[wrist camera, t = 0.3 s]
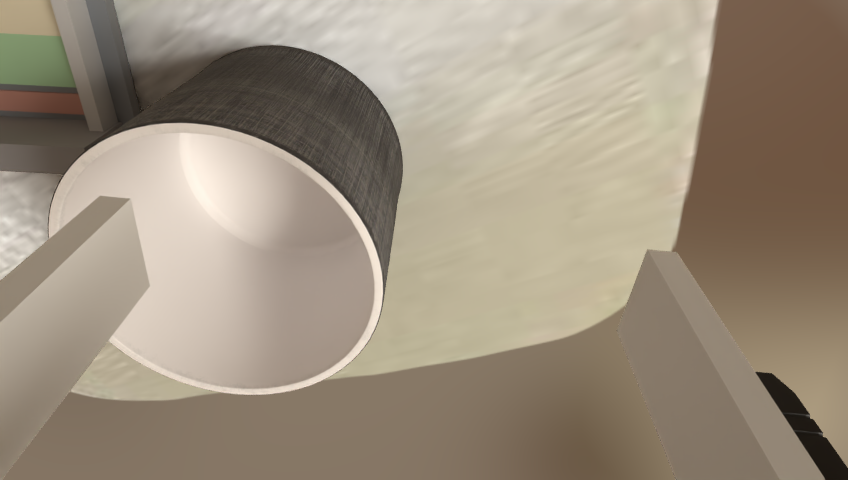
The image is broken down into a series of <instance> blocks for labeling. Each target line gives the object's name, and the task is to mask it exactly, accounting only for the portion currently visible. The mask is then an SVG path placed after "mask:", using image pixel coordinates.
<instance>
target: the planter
mask: <svg viewBox="0 0 848 480" xmlns="http://www.w3.org/2000/svg"><path fill="white" fill-rule="evenodd" d="M402 174H403V162H402V152H401V147H400V143H399V139H398V136H397V133H396V130H395V127H394V125H393V123H392V121H391V119H390V117H389V115H388V113H387V112H386V110H385V108H384V107H383V105H382V104H381V102H380V101H379V100H378V98H377V97H376V96H375V95H374V94H373V92H372V91H371V90H370V89H369V88H368V87H367V86H366V85H365V84H364V83H363V82H362V81H361V80H359V79H358V78H357V77H356V76H355V75H353V74H352V73H351V72H349V71H348V70H346V69H345V68H343V67H342V66H340V65H339V64H337V63H335V62H333V61H331V60H329V59H327V58H325V57H322V56H320V55H317V54H315V53H312V52H309V51H305V50H301V49H296V48H291V47H283V46H260V47H253V48H248V49H243V50H240V51H237V52H234V53H231V54H229V55H226V56H224V57H222V58H220V59H219V60H217V61H215V62H214V63H212V64H211V65H209V66H208V67H206V68H205V69H204V70H203V71H202V72H200V73H199V74H198V75H197V76H195V77H194V78H192V79H191V80H189V81H188V82H186V83H185V84H183V85H182V86H180V87H179V88H177V89H176V90H174V91H173V92H171V93H170V94H168V95H167V96H165V97H164V98H162V99H161V100H159V101H158V102H156V103H155V104H153V105H152V106H150V107H149V108H147V109H146V110H144V111H143V112H141V113H140V114H138V115H137V116H135V117H134V118H132V119H131V120H129V121H128V122H126V123H125V124H124V125H122V126H121V127H119V128H118V129H116V130H115V131H113V132H112V133H110V134H109V135H107V136H106V137H104V138H103V139H101V140H100V141H98V142H97V143H95V144H94V145H92V146H91V147H89V148H88V149H87V150H86V151H84V152H83V153H82V154H81V155H80V156H79V157H78V158H77V159H76V160H75V161H74V162H73V163H72V164H71V165H70V166H69V168H68V169H67V170H66V172H65V173H64V175H63V176H62V178H61V180H60V181H59V183H58V185H57V188H56V190H55V192H54V195H53V198H52V201H51V205H50V211H49V218H48V238H49V239H50V238H51V237H52V236H53V235H54V234H56V233H57V232H58V231H59V230H60V229H61V228H63V227H64V226H65V225H66V224H67V223H68V222H70V221H71V220H72V219H73V218H74V217H76V216H77V215H78V214H79V213H80V212H81V211H83V210H84V209H85V208H86V207H87V206H88V205H90V204H91V203H92V202H93V201H94V200H95V199H97V198H98V197H99V196H109V197H119V198H129V199H131V202H132V207H133V211H134V216H135V220H136V225H137V229H138V234H139V238H140V243H141V247H142V252H143V256H144V261H145V265H146V270H147V274H148V279H149V283H150V287H149V288H148V290H147V291H146V292H145V293H144V295H143V296H142V297H141V299H140V300H139V301H138V303H137V304H136V305H135V307H134V308H133V309H132V310H131V312H130V313H129V314H128V316H127V317H126V318H125V320H124V321H123V322H122V324H121V325H120V326H119V327H118V329H117V330H116V331H115V333H114V334H113V335H112V337H111V338H110V339H109V340H108V341H109V342H110V343H111V344H113V345H114V346H115V347H116V348H118V349H119V350H120V351H122V352H123V353H125V354H126V355H127V356H129V357H131V358H132V359H134V360H135V361H137V362H139V363H140V364H142V365H144V366H146V367H147V368H149V369H151V370H153V371H155V372H157V373H159V374H162V375H164V376H166V377H169V378H171V379H174V380H176V381H179V382H182V383H185V384H188V385H191V386H194V387H198V388H202V389H206V390H211V391H216V392H223V393H230V394H242V395H265V394H276V393H283V392H288V391H293V390H297V389H301V388H304V387H307V386H310V385H313V384H315V383H318V382H320V381H322V380H324V379H326V378H328V377H330V376H332V375H334V374H335V373H337V372H338V371H340V370H341V369H343V368H344V367H345V366H347V365H348V364H349V363H350V362H351V361H353V360H354V359H355V358H356V357H357V356H358V354H359V353H360V352H361V351H362V350H363V349H364V347H365V346H366V345H367V343H368V342H369V340H370V339H371V337H372V335H373V333H374V331H375V329H376V326H377V324H378V322H379V318H380V315H381V311H382V306H383V300H384V294H385V287H386V280H387V273H388V266H389V260H390V253H391V246H392V239H393V232H394V225H395V218H396V210H397V203H398V197H399V193H400V188H401V183H402Z"/></svg>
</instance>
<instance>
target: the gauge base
mask: <svg viewBox="0 0 848 480" xmlns="http://www.w3.org/2000/svg"><path fill="white" fill-rule="evenodd" d="M138 114H140V109H139V105H138V100H137V96H136V92H135V88H134V84H133V80H132V76H131V72H130V68H129V63H128V59H127V55H126V51H125V47H124V43H123V39H122V35H121V31H120V26H119V22H118V18H117V14H116V10H115V6H114V2H113V0H0V171H15V172H34V173H53V174H64V173H65V172H66V170H67V169H68V168H69V166H70V165H71V164H72V163H73V162H74V161H75V160H76V159H77V158H78V157H79V156H80V155H81V154H82V153H83V152H84V151H86V150H87V149H88V148H89V147H91V146H92V145H94V144H95V143H97V142H98V141H100V140H101V139H103V138H104V137H106V136H107V135H109V134H110V133H112V132H113V131H115V130H116V129H118V128H119V127H121V126H122V125H124V124H125V123H126V122H128V121H129V120H131V119H132V118H134V117H135V116H137V115H138Z"/></svg>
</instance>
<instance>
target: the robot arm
mask: <svg viewBox="0 0 848 480" xmlns="http://www.w3.org/2000/svg"><path fill="white" fill-rule="evenodd" d="M149 287H150V283H149V279H148V274H147V270H146V265H145V261H144V256H143V252H142V247H141V243H140V238H139V234H138V229H137V225H136V220H135V216H134V211H133V207H132V202H131V199H129V198H119V197H109V196H99V197H98V198H97V199H95V200H94V201H93V202H92V203H91V204H90V205H88V206H87V207H86V208H85V209H84V210H83V211H81V212H80V213H79V214H78V215H77V216H76V217H74V218H73V219H72V220H71V221H70V222H68V223H67V224H66V225H65V226H64V227H63V228H61V229H60V230H59V231H58V232H57V233H56V234H54V235H53V236H52V237H51V238H50V239H49V240H47V241H46V242H45V243H44V244H43V245H42V246H40V247H39V248H38V249H37V250H36V251H35V252H33V253H32V254H31V255H30V256H29V257H28V258H26V259H25V260H24V261H23V262H22V263H21V264H19V265H18V266H17V267H16V268H15V269H14V270H12V271H11V272H10V273H9V274H8V275H7V276H5V277H4V278H3V279H2V280H1V281H0V480H2V479H3V478H4V476H5V475H6V474H7V472H8V471H9V470H10V468H11V467H12V466H13V465H14V463H15V462H16V461H17V459H18V458H19V457H20V455H21V454H22V453H23V451H24V450H25V449H26V448H27V446H28V445H29V444H30V442H31V441H32V439H33V438H34V437H35V436H36V435H37V433H38V432H39V431H40V429H41V428H42V427H43V425H44V424H45V423H46V421H47V420H48V419H49V418H50V416H51V415H52V414H53V412H54V411H55V410H56V408H57V407H58V406H59V404H60V403H61V402H62V401H63V399H64V398H65V397H66V395H67V394H68V393H69V391H70V390H71V389H72V388H73V386H74V385H75V384H76V382H77V381H78V380H79V378H80V377H81V376H82V374H83V373H84V372H85V371H86V369H87V368H88V367H89V365H90V364H91V363H92V361H93V360H94V359H95V357H96V356H97V355H98V354H99V352H100V351H101V350H102V348H103V347H104V346H105V344H106V343H107V342H108V340H109V339H110V338H111V337H112V335H113V334H114V333H115V331H116V330H117V329H118V327H119V326H120V325H121V324H122V322H123V321H124V320H125V318H126V317H127V316H128V314H129V313H130V312H131V310H132V309H133V308H134V307H135V305H136V304H137V303H138V301H139V300H140V299H141V297H142V296H143V295H144V293H145V292H146V291H147V290H148V288H149ZM617 332H618V335H619V337H620V340H621V342H622V345H623V347H624V350H625V353H626V355H627V358H628V360H629V363H630V365H631V368H632V370H633V373H634V375H635V378H636V380H637V383H638V385H639V388H640V390H641V393H642V395H643V398H644V400H645V403H646V406H647V408H648V410H649V413H650V416H651V418H652V421H653V423H654V426H655V428H656V431H657V433H658V436H659V438H660V441H661V443H662V446H663V448H664V451H665V454H666V456H667V458H668V461H669V464H670V466H671V469H672V471H673V474H674V476H675V479H676V480H848V468H847V466H846V465H845V464H844V463H843V461H842V459H841V458H840V456H839V455H838V454H837V452H836V451H835V449H834V448H833V447H832V445H831V444H830V442H829V441H828V440H827V438H825V437H823V435H822V434H823V432H822V431H821V430H820V428H819V427H818V425H817V424H816V422H815V421H814V420H813V419H810V414H809V413H808V411H807V410H806V408H805V407H804V406H803V404H802V403H801V401H800V400H799V398H798V397H797V396H796V394H795V393H794V392H793V391H792V390H791V389H789V388H788V387H787V386H786V385H785V384H784V383H782V382H781V381H780V380H779V379H778V378H776V377H775V376H774V375H773V374H772V373H762V372H755V371H754V370H753V368H752V367H751V365H750V363H749V362H748V360H747V359H746V357H745V356H744V354H743V353H742V351H741V350H740V348H739V347H738V345H737V344H736V342H735V341H734V339H733V338H732V336H731V334H730V333H729V331H728V330H727V329H726V327H725V325H724V324H723V322H722V321H721V319H720V318H719V316H718V315H717V313H716V311H715V310H714V309H713V307H712V306H711V304H710V302H709V301H708V299H707V298H706V296H705V295H704V293H703V292H702V290H701V289H700V287H699V286H698V284H697V282H696V281H695V279H694V278H693V276H692V275H691V273H690V272H689V270H688V269H687V267H686V266H685V264H684V263H683V261H682V260H681V258H680V257H679V255H678V254H677V252H668V251H658V250H648V249H647V252H646V254H645V257H644V260H643V262H642V265H641V268H640V270H639V273H638V276H637V278H636V281H635V284H634V286H633V289H632V292H631V294H630V297H629V300H628V302H627V305H626V307H625V311H624V313H623V315H622V318H621V321H620V323H619V326H618V329H617Z"/></svg>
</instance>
